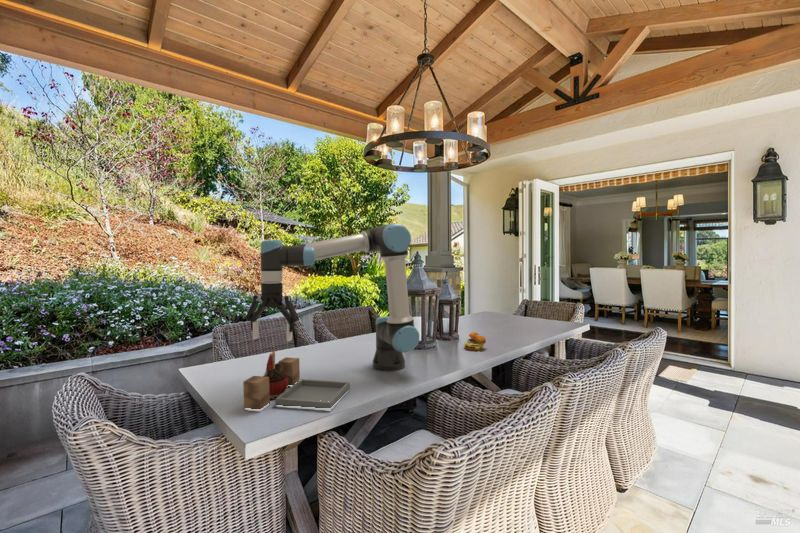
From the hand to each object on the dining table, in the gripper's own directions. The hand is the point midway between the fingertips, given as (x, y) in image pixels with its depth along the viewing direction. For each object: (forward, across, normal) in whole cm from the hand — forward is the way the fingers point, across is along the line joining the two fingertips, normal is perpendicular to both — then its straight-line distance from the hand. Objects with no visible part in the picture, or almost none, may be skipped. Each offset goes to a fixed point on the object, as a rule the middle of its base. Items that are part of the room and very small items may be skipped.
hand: (272, 339), depth 141 cm
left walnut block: (+21, 0, +11) cm, 24 cm away
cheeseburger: (+20, -73, -79) cm, 110 cm away
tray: (+21, -16, 0) cm, 26 cm away
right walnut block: (+21, 0, -12) cm, 24 cm away
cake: (+21, 0, 0) cm, 21 cm away
